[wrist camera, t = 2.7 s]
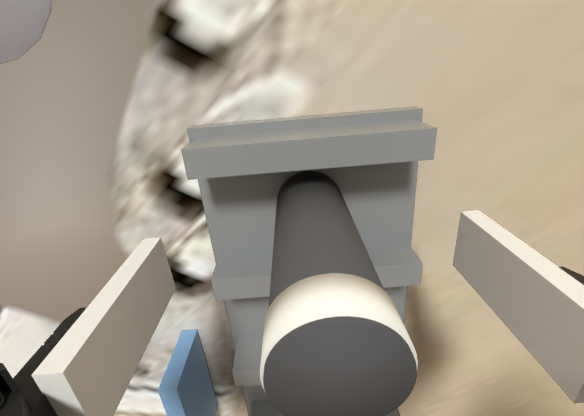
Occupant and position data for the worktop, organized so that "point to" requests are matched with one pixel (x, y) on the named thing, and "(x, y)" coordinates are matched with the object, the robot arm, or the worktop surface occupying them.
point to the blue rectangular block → (188, 380)
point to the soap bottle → (21, 26)
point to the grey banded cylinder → (329, 313)
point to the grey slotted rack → (263, 199)
